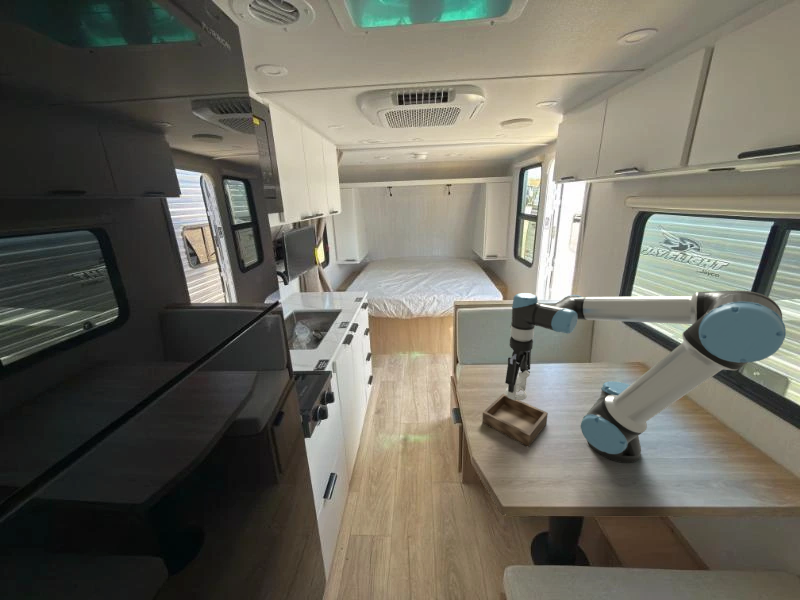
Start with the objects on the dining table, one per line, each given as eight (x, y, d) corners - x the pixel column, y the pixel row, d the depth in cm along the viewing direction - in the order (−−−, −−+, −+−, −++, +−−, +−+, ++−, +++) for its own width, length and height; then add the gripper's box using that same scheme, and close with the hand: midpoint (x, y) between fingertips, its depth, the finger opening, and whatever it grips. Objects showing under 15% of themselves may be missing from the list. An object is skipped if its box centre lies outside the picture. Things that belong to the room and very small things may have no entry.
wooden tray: (546, 423, 116) (547, 412, 115) (528, 447, 106) (529, 435, 104) (502, 403, 129) (503, 393, 127) (482, 423, 118) (482, 412, 117)
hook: (545, 387, 108) (532, 380, 105) (521, 408, 112) (508, 402, 110) (535, 372, 114) (523, 365, 112) (513, 392, 119) (500, 386, 116)
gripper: (524, 325, 116) (519, 378, 123) (496, 344, 102) (493, 401, 109) (544, 330, 110) (538, 385, 117) (518, 350, 97) (513, 411, 104)
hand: (516, 393), depth 113 cm, fingers closed on hook, 8 cm apart
